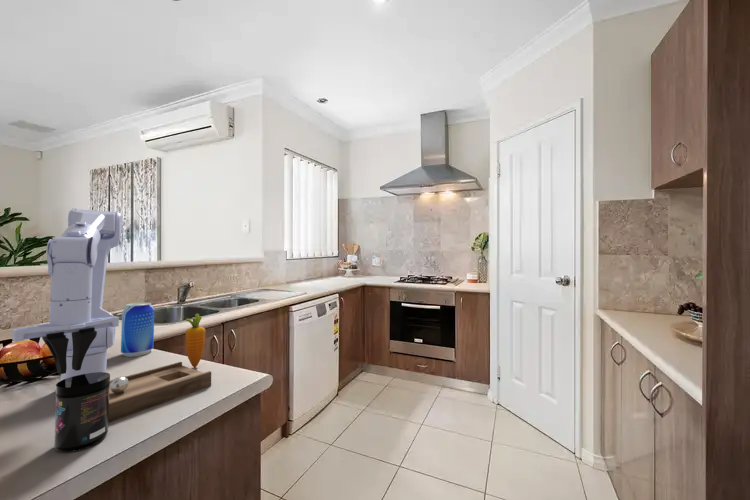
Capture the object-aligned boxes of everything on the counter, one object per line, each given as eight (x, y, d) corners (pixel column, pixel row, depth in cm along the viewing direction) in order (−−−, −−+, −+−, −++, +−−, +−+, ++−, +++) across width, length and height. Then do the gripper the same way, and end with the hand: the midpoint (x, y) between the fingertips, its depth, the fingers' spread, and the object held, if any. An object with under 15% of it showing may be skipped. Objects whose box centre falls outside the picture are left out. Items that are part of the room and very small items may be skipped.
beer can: (147, 348, 107) (148, 301, 108) (157, 352, 102) (158, 303, 103) (117, 354, 100) (118, 304, 101) (126, 359, 96) (127, 306, 96)
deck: (75, 405, 65) (75, 389, 65) (180, 374, 83) (180, 361, 83) (102, 424, 58) (102, 406, 58) (211, 385, 76) (211, 371, 76)
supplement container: (83, 430, 56) (85, 371, 57) (118, 431, 56) (120, 372, 56) (41, 453, 50) (43, 386, 50) (81, 455, 49) (83, 388, 49)
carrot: (195, 371, 86) (197, 316, 86) (180, 369, 87) (181, 315, 87) (208, 365, 91) (209, 313, 91) (194, 363, 92) (195, 312, 92)
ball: (106, 393, 66) (106, 378, 66) (124, 388, 68) (125, 373, 68) (113, 397, 64) (113, 381, 64) (131, 391, 67) (131, 376, 67)
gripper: (21, 305, 52) (17, 389, 51) (126, 296, 64) (124, 363, 64) (10, 302, 55) (7, 380, 55) (111, 294, 68) (109, 358, 67)
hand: (69, 371), depth 59 cm, fingers closed
